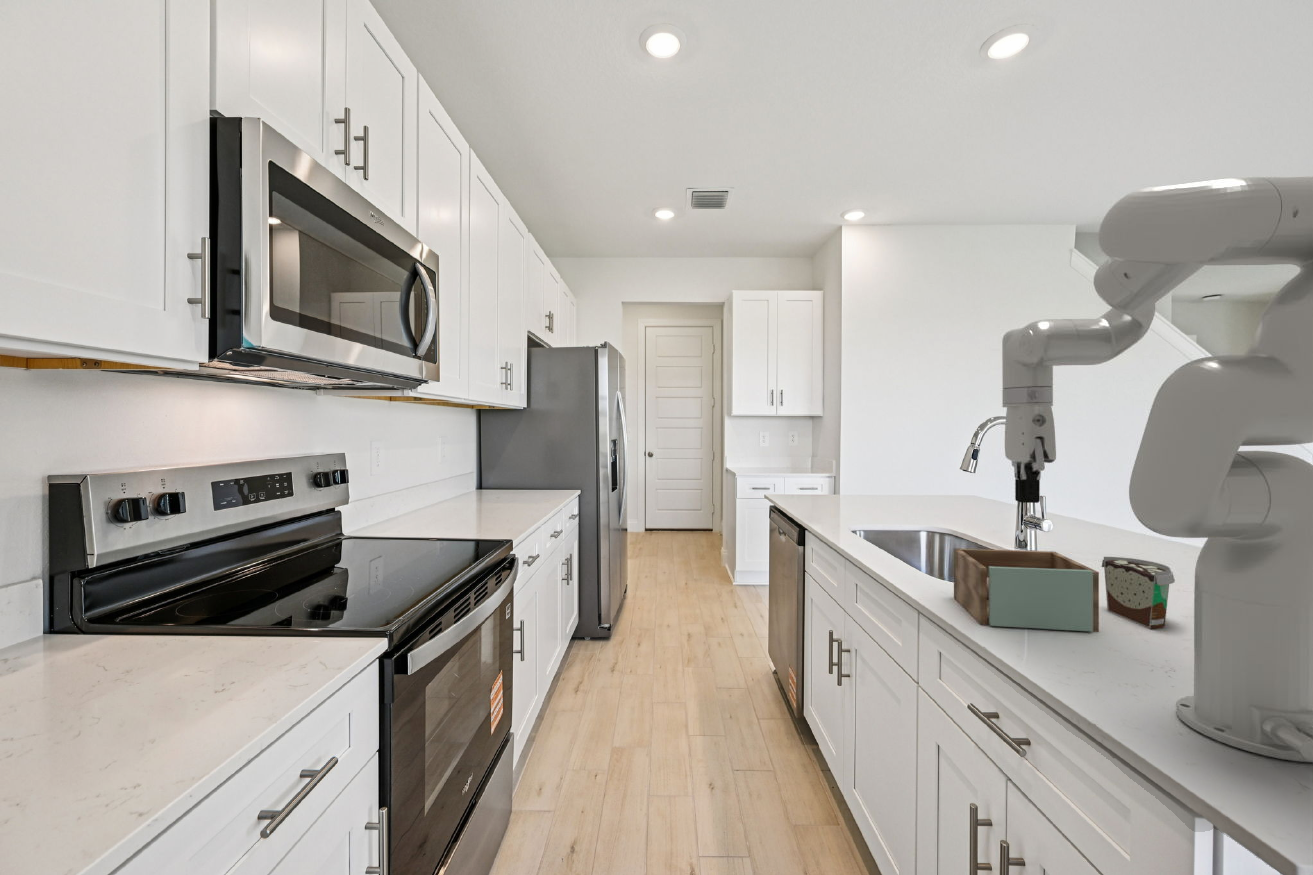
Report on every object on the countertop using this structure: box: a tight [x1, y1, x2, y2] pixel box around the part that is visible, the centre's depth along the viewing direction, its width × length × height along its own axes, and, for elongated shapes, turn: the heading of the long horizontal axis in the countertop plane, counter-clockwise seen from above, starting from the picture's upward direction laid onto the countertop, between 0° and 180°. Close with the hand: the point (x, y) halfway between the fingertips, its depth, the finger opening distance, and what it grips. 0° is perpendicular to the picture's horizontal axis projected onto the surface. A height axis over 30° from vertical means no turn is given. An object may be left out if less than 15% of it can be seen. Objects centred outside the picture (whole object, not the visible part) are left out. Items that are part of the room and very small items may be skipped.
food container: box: [1101, 556, 1176, 630], centre depth 101 cm, size 12×6×10 cm, turn 179°
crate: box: [953, 547, 1100, 632], centre depth 105 cm, size 16×18×10 cm
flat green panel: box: [989, 566, 1094, 632], centre depth 97 cm, size 1×15×10 cm, turn 77°
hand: (1027, 501), depth 101 cm, fingers closed
